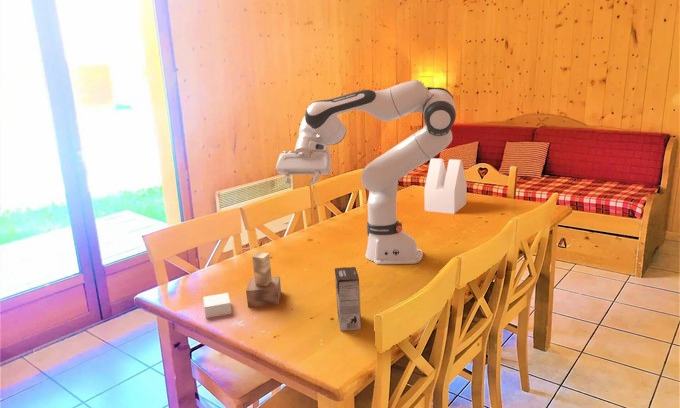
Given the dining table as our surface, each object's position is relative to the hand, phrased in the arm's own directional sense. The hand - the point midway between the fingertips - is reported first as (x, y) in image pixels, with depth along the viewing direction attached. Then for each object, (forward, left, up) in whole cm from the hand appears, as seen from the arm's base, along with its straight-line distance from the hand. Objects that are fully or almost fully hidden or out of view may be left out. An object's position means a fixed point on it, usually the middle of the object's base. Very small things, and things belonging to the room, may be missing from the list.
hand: (300, 183), depth 185 cm
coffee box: (-25, +34, -34) cm, 55 cm away
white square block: (+19, +33, -34) cm, 52 cm away
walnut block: (+7, +23, -34) cm, 42 cm away
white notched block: (-44, -92, -35) cm, 107 cm away
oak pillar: (+7, +23, -28) cm, 37 cm away
